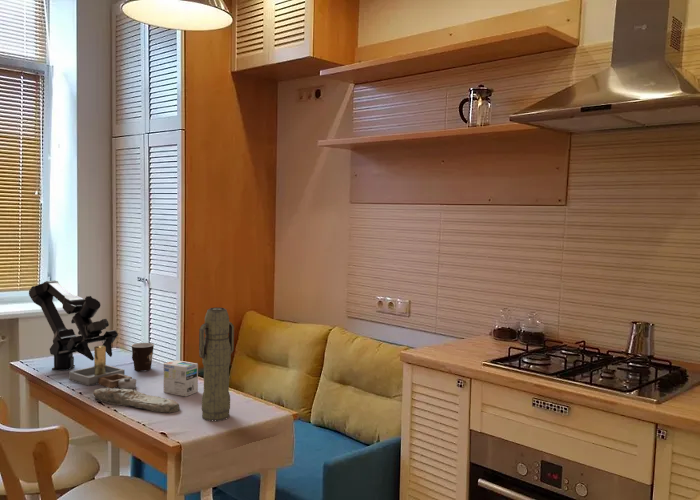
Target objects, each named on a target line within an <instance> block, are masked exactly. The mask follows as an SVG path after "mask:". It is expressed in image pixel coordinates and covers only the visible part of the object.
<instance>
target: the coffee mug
mask: <svg viewBox="0 0 700 500" xmlns="http://www.w3.org/2000/svg"><path fill="white" fill-rule="evenodd" d="M154 347H155V344H154V343H151V342H136V343H133V344H131V351H132V352H131V353H132V355H131V359H132V363H133V369H134V371H136V372H148V371H150V370H151V369H152V362H153V354H154Z"/></svg>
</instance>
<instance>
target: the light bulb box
mask: <svg viewBox="0 0 700 500" xmlns="http://www.w3.org/2000/svg"><path fill="white" fill-rule="evenodd" d="M163 393H167V394H172V395H177V396H182V397H188V396H191V395H193V394H196V393H199V364H198V362H191V361H183V360H177V359H174V360H171V361H167V362H164V363H163Z"/></svg>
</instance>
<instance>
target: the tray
mask: <svg viewBox="0 0 700 500" xmlns="http://www.w3.org/2000/svg"><path fill="white" fill-rule="evenodd" d="M117 373H119V374H123V375H125V369H123V368H119V367H116V366H111V365H108V364H106V374H101V375H97V376H94V366H90V367H85V368H80V369H76V370H71V371H68V379H69V380H70V381H72V382H76V383H78V384H82V385H85V386H87V387H90V386H96V385H99V378H100V377H104V376H108V375H113V374H117Z"/></svg>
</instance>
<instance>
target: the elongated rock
mask: <svg viewBox="0 0 700 500" xmlns="http://www.w3.org/2000/svg"><path fill="white" fill-rule="evenodd" d="M92 396H93V397H94V399H96V400H99V401H101V402H103V403H108V404H109V405H115V406H116V405H117V406H119V405H120V406H122V407H123V406H125V407H129V406H131V407H133V408H135V409H144V410H147V411H151V412H154V411H155V412H156V413H167V412H169V413H170V412H172V413H176V412H178V411H180V404H179V402H177V401H176V400H173V399H171V398H165V397H161V396H156V395H149V394H146V393H143V392H140V391H139V390H136V389H124V388H122V389H119V388H113V389H112V388H108V387H102V388H97V389H94V390H93V391H92Z"/></svg>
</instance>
